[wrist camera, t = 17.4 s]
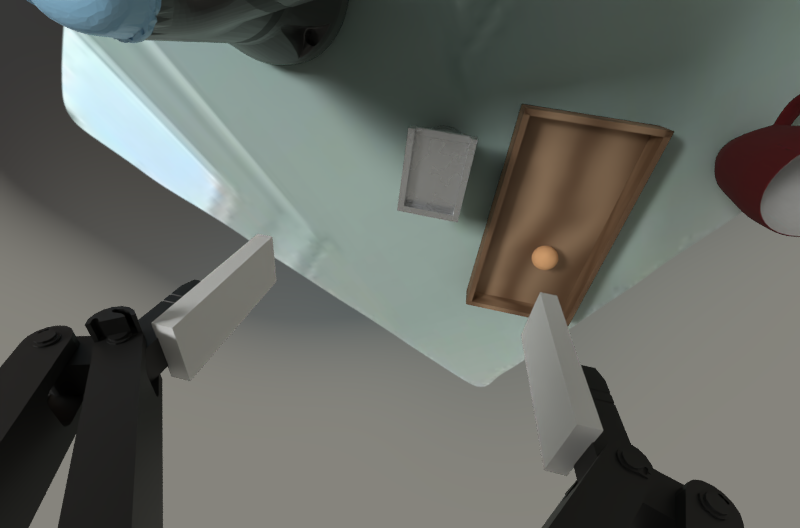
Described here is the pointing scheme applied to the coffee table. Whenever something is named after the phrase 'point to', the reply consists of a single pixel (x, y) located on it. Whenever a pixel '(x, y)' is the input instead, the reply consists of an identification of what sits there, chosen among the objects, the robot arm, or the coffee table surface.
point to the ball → (544, 257)
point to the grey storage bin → (436, 171)
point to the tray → (560, 205)
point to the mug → (765, 173)
